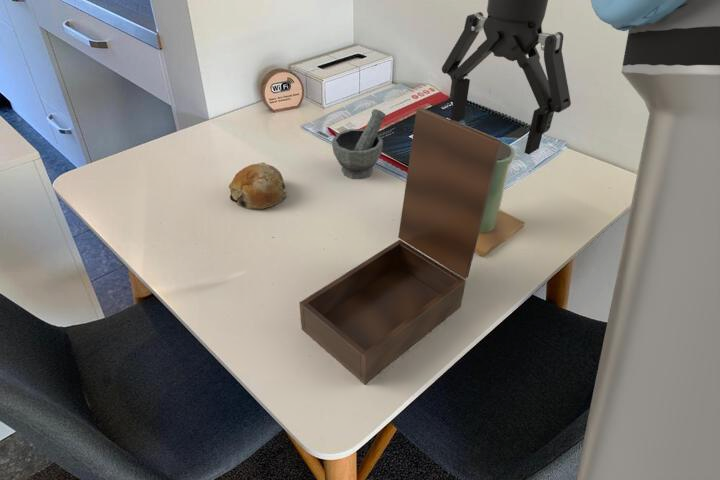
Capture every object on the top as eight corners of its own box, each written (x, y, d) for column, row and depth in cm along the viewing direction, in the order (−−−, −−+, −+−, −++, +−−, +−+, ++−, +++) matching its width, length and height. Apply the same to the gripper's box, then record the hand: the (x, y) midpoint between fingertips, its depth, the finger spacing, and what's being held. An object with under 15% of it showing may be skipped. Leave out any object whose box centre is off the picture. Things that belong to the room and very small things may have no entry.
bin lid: (498, 142, 60) (521, 132, 63) (416, 108, 67) (441, 100, 70) (464, 279, 72) (485, 265, 75) (397, 237, 79) (419, 226, 82)
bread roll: (282, 224, 97) (297, 188, 93) (227, 212, 92) (242, 175, 88) (273, 195, 104) (288, 161, 101) (223, 183, 99) (236, 147, 96)
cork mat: (483, 257, 85) (484, 252, 84) (426, 224, 91) (427, 220, 91) (523, 226, 91) (524, 222, 91) (468, 198, 98) (468, 193, 97)
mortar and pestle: (350, 189, 100) (350, 132, 92) (324, 168, 106) (322, 113, 98) (396, 171, 105) (399, 116, 98) (368, 152, 111) (370, 99, 103)
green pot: (481, 241, 86) (496, 167, 78) (444, 220, 91) (454, 148, 82) (507, 221, 91) (524, 149, 82) (471, 202, 95) (483, 132, 86)
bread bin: (364, 385, 65) (365, 358, 62) (301, 329, 72) (299, 302, 69) (461, 307, 76) (466, 280, 73) (397, 265, 83) (399, 239, 80)
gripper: (629, -2, 62) (580, 156, 75) (460, -35, 76) (444, 103, 89) (599, 9, 58) (553, 174, 71) (427, -28, 72) (415, 116, 85)
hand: (492, 135), depth 80 cm, fingers open, 13 cm apart
